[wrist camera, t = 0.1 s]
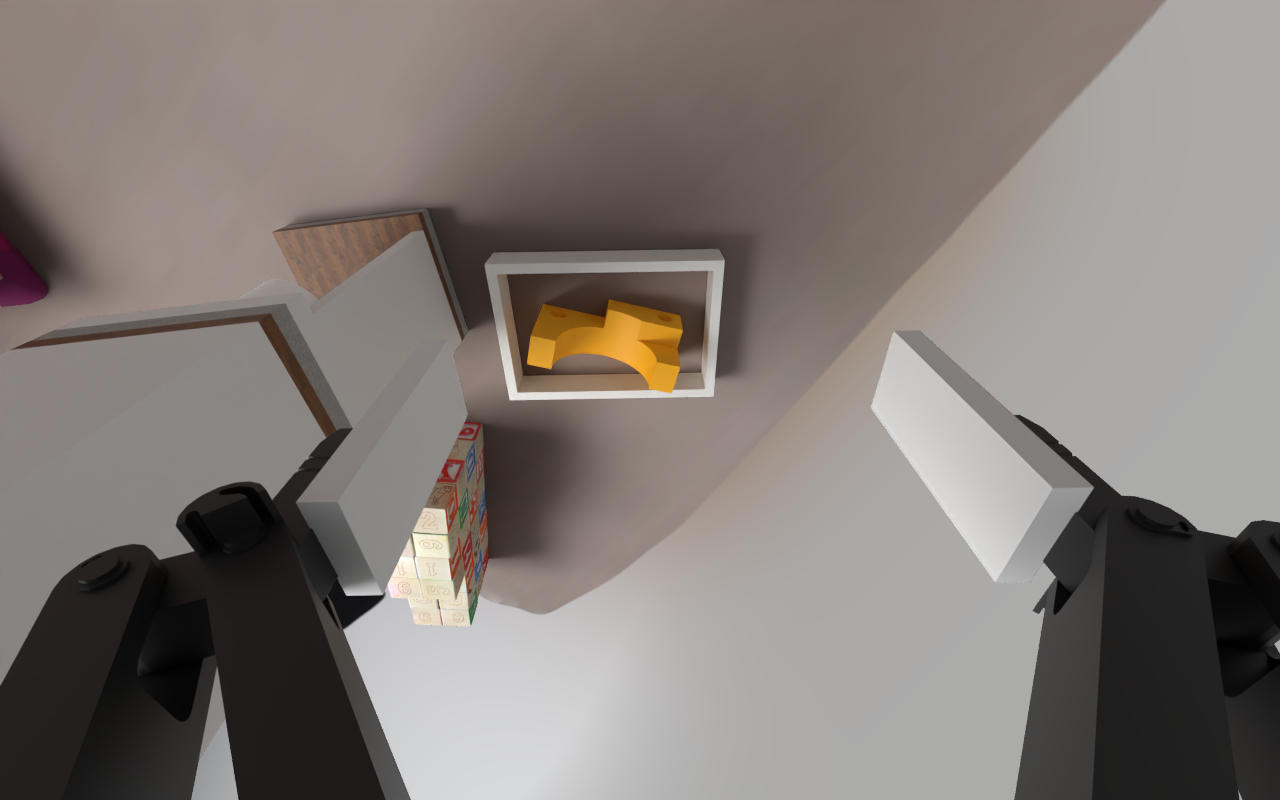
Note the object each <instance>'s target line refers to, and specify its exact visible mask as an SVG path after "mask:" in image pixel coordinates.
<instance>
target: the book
mask: <svg viewBox="0 0 1280 800" xmlns="http://www.w3.org/2000/svg"><path fill="white" fill-rule="evenodd" d="M47 293H48V290H47V287H46V284H45V282H44V281H43V280H42V279H41V277H40V276H39V275H38V274H37V272H36V271H35V270H34V269H33V267H32V266H31V265H30V264H29V262H28V261H27V260H26V259H25V257H24V256H23V255H22V254H21V252H20V251H19V250H18V249H14V247H13V246H12V245H11V244H10V242H9V241H8V240H7V239H6V237H5V236H4V235H3V234H2V232H1V231H0V306H2V307H4V306H13V305H22V304H30V303H33V302H35V301H38V300H41V299H43V298H44V297H45V295H46V294H47Z"/></svg>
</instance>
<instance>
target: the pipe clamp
mask: <svg viewBox="0 0 1280 800" xmlns="http://www.w3.org/2000/svg"><path fill="white" fill-rule="evenodd" d="M682 332H683V327H682V322H681V317H680V315H677V314H672V313H668V312H663V311H659V310H654V309H650V308H645V307H641V306H637V305H632V304H628V303H623V302H619V301H614V300H610V299H609V302H608V307H607V311H606V315H605V317H601V316H596V315H592V314H587V313H583V312H578V311H574V310H569V309H565V308H560V307H555V306H551V305H546V304H543V305H542V308H541V310H540V313H539V316H538V318H537V321H536V324H535V326H534V329H533V331H532V334H531V338H530V346H529V353H528V360H527V364H528V365H533V366H538V367H543V368H548V369H551V368H552V366H553V364H554V363H555V362H556V361H558V360H559V359H561V358H563V357H565V356H568V355H572V354H581V353H588V354H598V355H604V356H608V357H611V358H615V359H617V360H620V361H622V362H624V363H626V364H628V365H630V366H632V367H633V368H635V369H636V370H637V371H639V372H640V373H641V374H642V375H643V377H644V378H645V379H646V381H647V383H648V386H649V389H652V390H657V391H662V392H667V393H672V391H673V388H674V385H675V382H676V379H677V376H678V373H679V370H680V362H679V356H678V350H677V348H678V345H679V342H680V339H681V335H682Z"/></svg>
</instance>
